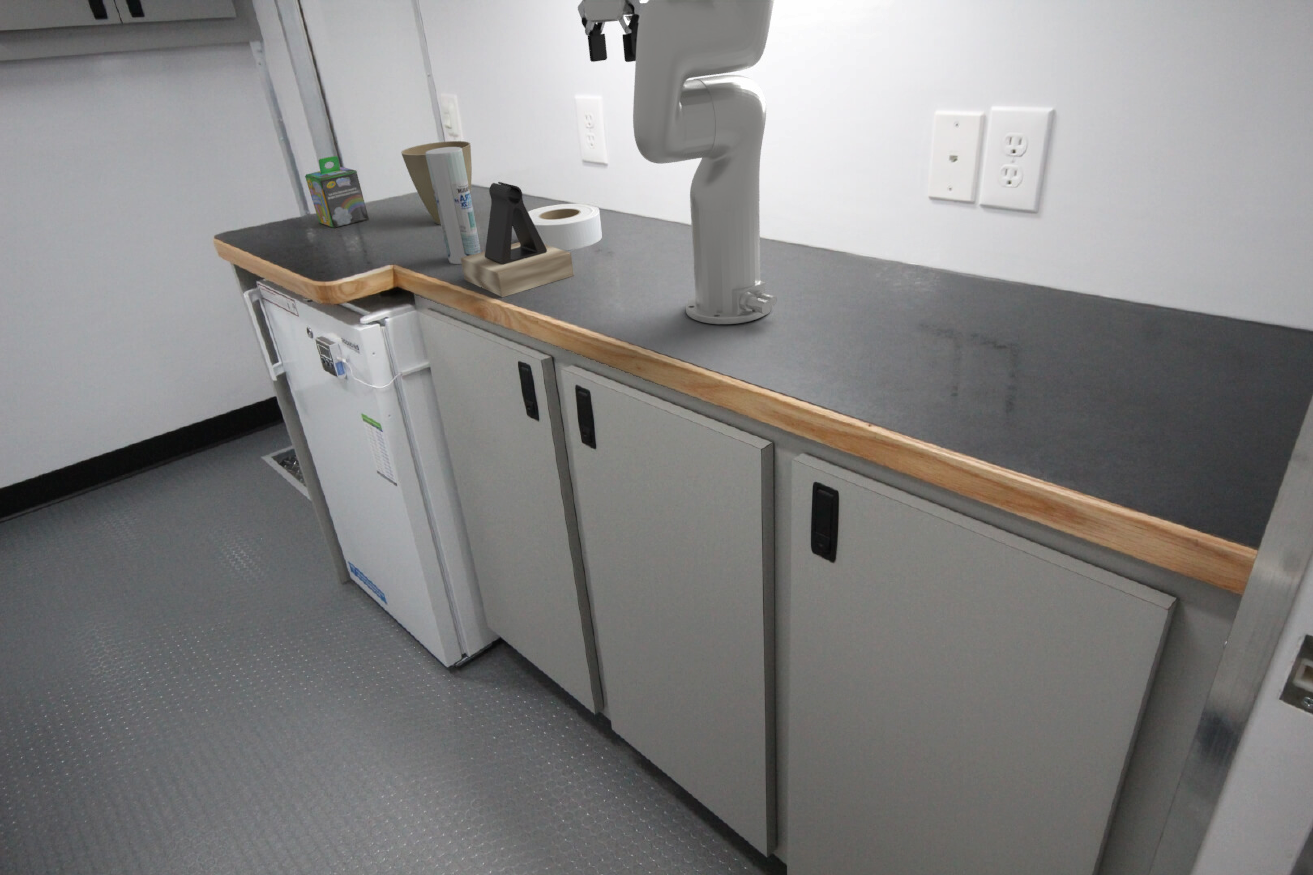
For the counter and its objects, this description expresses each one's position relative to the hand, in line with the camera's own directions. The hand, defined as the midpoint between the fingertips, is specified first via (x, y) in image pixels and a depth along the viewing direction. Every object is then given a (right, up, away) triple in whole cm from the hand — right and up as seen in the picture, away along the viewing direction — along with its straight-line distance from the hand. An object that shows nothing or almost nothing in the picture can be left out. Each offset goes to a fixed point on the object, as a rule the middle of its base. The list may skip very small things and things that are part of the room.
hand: (615, 61), depth 131 cm
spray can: (-30, -29, +20) cm, 46 cm away
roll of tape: (-12, -23, +27) cm, 38 cm away
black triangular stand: (-17, -31, +5) cm, 36 cm away
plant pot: (-40, -13, +49) cm, 65 cm away
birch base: (-17, -35, +7) cm, 39 cm away
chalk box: (-68, -11, +57) cm, 89 cm away
